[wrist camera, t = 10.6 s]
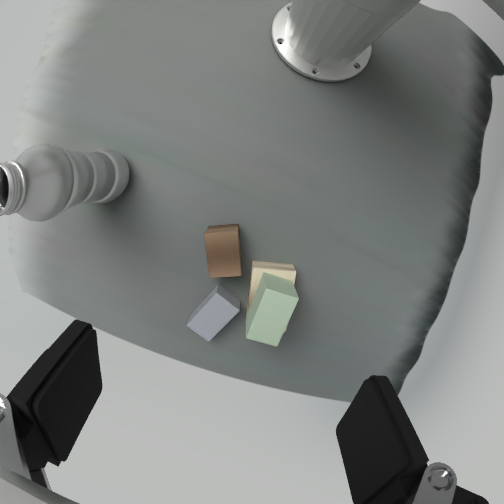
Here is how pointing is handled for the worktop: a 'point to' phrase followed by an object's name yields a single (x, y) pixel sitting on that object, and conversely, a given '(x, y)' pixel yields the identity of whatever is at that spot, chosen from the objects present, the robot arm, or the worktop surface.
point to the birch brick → (271, 268)
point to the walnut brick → (223, 250)
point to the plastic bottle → (59, 180)
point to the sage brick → (270, 309)
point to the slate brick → (214, 313)
